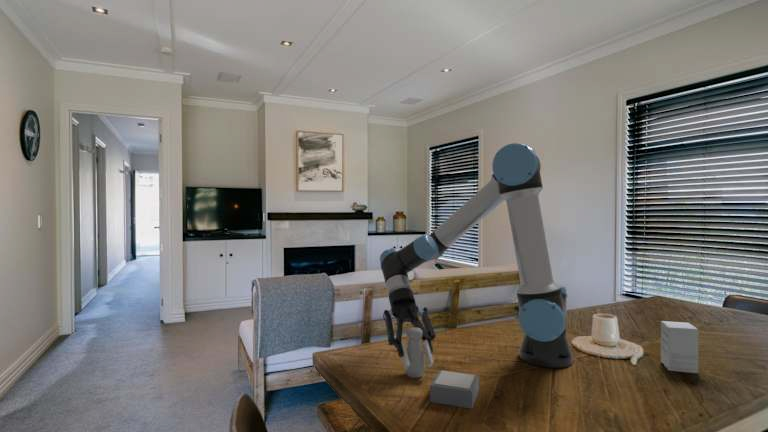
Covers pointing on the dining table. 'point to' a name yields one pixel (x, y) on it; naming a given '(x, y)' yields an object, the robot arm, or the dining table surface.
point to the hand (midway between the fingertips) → (419, 365)
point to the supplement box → (679, 346)
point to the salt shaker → (415, 353)
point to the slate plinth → (454, 389)
